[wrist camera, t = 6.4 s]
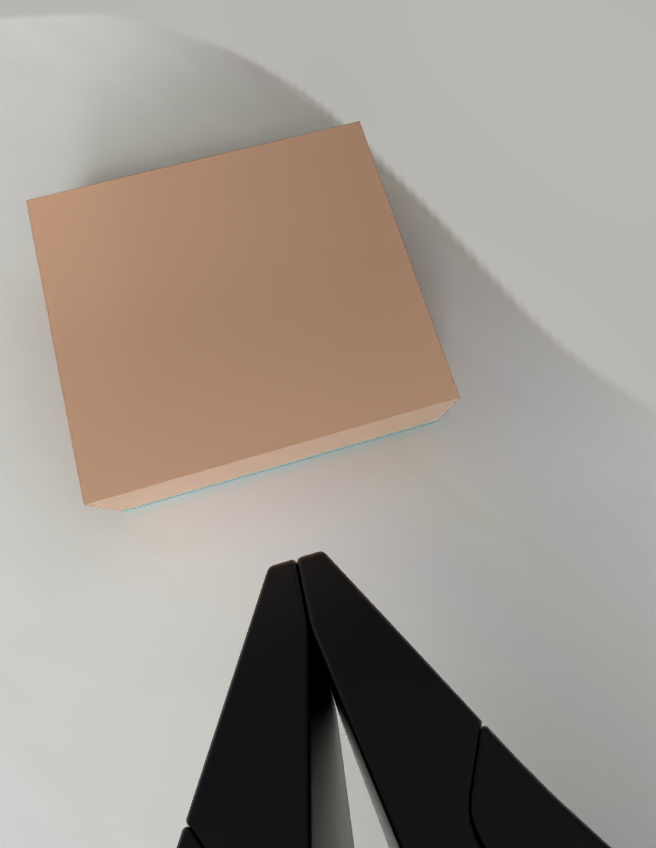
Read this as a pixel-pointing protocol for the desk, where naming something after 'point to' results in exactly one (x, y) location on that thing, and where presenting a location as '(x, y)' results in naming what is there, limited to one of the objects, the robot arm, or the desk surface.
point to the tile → (233, 317)
